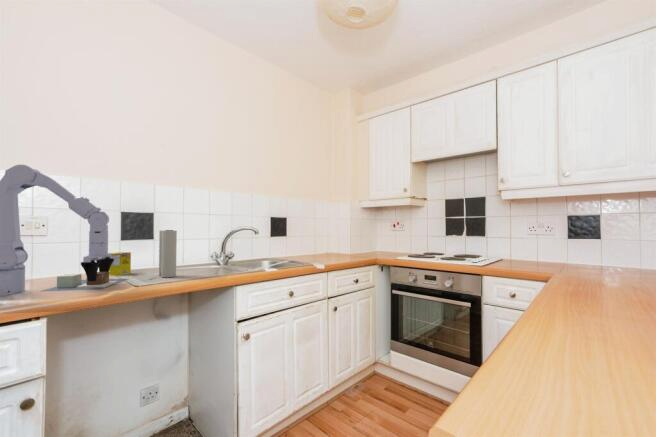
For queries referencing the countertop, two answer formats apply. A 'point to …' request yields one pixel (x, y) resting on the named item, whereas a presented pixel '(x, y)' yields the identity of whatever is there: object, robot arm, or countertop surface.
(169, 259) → the tall grey block
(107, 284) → the board
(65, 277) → the sage block
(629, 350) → the countertop surface
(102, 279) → the walnut block
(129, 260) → the supplement box
